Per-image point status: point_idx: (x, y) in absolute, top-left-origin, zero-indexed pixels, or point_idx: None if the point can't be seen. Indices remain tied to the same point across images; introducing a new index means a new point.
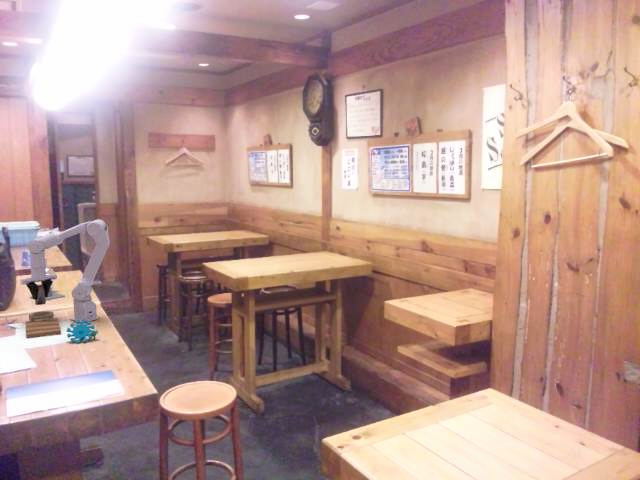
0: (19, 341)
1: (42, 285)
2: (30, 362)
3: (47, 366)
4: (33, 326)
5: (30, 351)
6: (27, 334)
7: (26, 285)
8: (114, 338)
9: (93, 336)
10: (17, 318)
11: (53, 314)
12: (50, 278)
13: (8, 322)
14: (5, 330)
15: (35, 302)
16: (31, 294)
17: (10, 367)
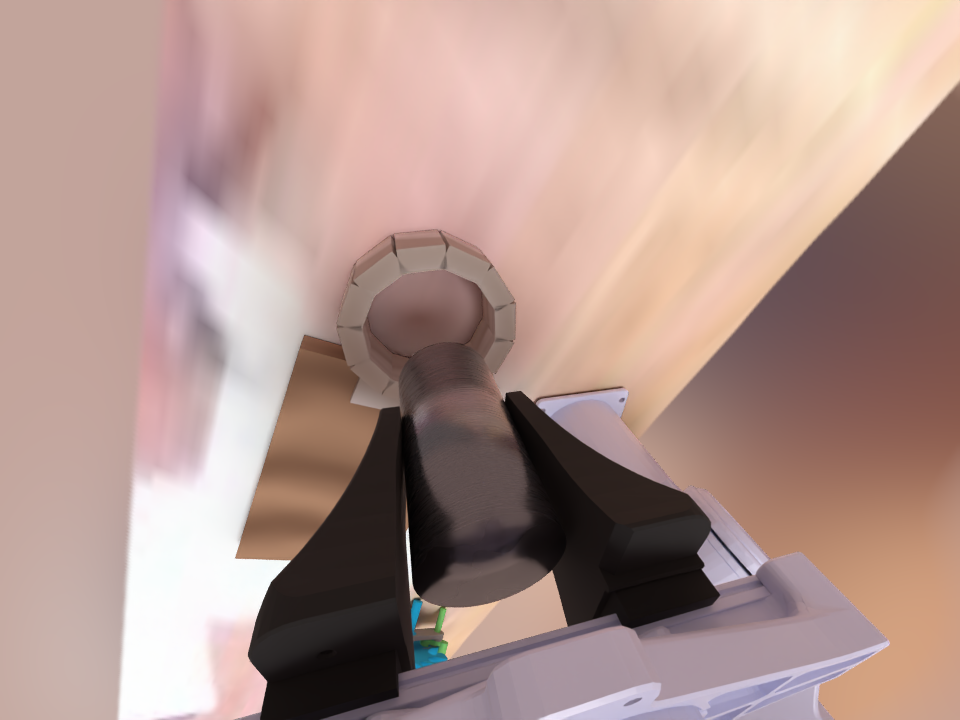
0: (200, 559)
1: (515, 581)
2: (201, 694)
3: (239, 711)
4: (307, 471)
5: (221, 642)
6: (241, 557)
7: (277, 580)
8: (475, 622)
9: (437, 620)
10: (303, 51)
11: (491, 371)
12: (715, 624)
13: (187, 140)
14: (140, 365)
15: (399, 395)
16: (368, 446)
17: (135, 709)
